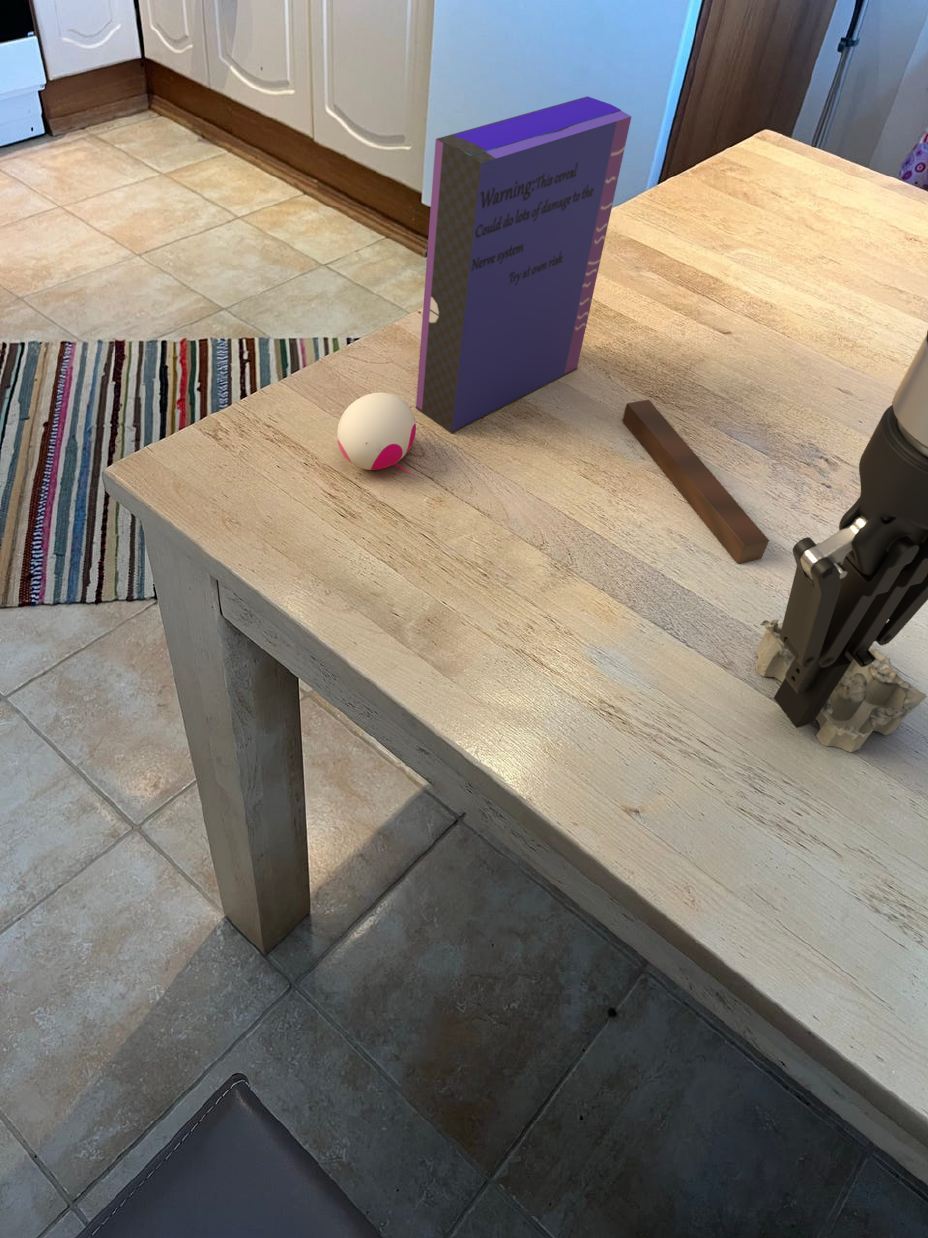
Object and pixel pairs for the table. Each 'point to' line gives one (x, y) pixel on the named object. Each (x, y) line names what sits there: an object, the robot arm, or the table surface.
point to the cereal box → (514, 255)
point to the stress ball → (376, 431)
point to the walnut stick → (695, 482)
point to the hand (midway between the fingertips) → (793, 710)
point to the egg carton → (848, 694)
